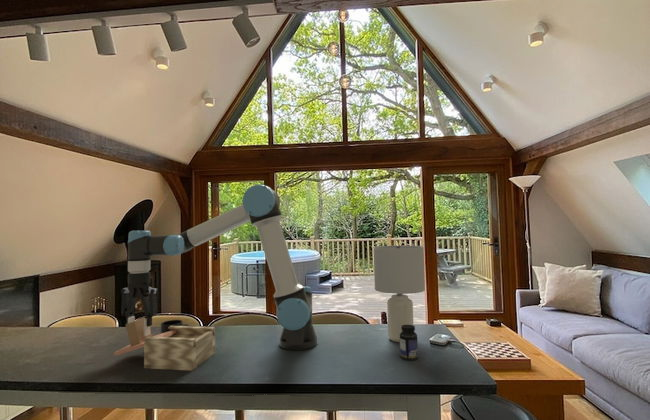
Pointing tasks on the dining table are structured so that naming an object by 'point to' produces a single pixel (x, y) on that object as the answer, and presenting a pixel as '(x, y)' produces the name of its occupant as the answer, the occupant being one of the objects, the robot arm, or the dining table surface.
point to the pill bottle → (408, 343)
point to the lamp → (399, 282)
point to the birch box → (180, 348)
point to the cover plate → (130, 348)
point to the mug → (171, 323)
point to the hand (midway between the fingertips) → (139, 334)
